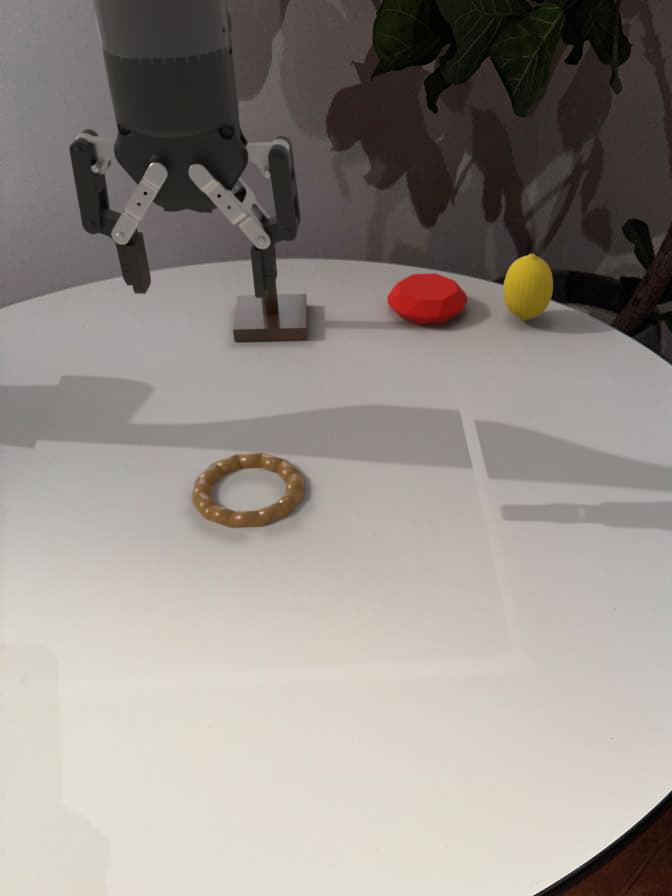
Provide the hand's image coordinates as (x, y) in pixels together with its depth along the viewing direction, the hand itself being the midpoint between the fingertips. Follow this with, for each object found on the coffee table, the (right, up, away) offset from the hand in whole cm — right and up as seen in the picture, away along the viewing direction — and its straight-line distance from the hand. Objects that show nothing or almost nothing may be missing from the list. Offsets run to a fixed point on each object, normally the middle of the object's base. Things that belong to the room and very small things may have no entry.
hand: (203, 291), depth 62 cm
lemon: (+28, +7, +39) cm, 48 cm away
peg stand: (-1, +7, +37) cm, 38 cm away
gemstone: (+17, +9, +40) cm, 45 cm away
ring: (+1, -13, +14) cm, 19 cm away
